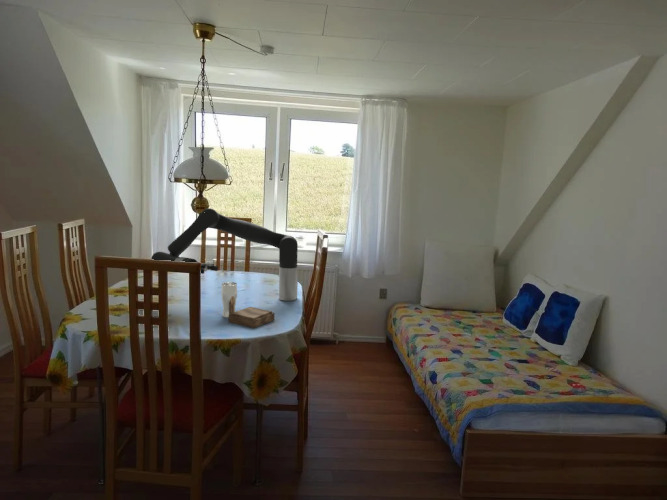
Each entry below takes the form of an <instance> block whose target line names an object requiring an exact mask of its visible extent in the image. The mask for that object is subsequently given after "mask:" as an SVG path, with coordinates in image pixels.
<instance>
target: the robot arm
mask: <svg viewBox="0 0 667 500" xmlns="http://www.w3.org/2000/svg"><path fill="white" fill-rule="evenodd" d="M204 212H205V213H204ZM207 229H215V230H217V231H218V230H219V231H222V232H226V233H228V234H230V235H233V236H235V237H237V238H240V239H242V240H246V241H248V242H252V243H255V244H261V245H266V246H267V245H269V246H271V247H274V248H276V249H279V250H278V251H279V253H278V255H279V256H278V258H279V259H278V260H279V261H278V262H279V263H278V265H279V268H278V270H279V271H278V272H279V273H278V274H279V275H278V277H279V278H278V279H279V280H278V300H279V301H284V302H293V301H296V300H297V298H298V252H299V251H298V241H297V239H296V238H295V237H294V236H292V235H287V234H284V233H279V232H276V231H272V230H270V229H268V228H266V227H263V226H261V225H259V224H256V223H253V222H250V221H245V220H242V219H235V218H231V217H228V216H226V215H222V214H221V213H218V212H217V211H216V210H215V209H213V208H209V207H208V208H205V209H203V210H202V211H201V212H200V213H199V215H198V216H197V218H196V219H195V220H194V221H193V222H192V223H191V224H190V226H189V227H188V228H187V229H185V230H184V231H183V232H182V233H181V234H180V235H179V236H178V237H176V238H175V239H174V240H173V241H172V242H171V243H170V244H168V246H167V250H168V252H169V253H167V252H164V251H157V252H154V253H153V254H151V255H152V256H151V259H154V260H171V261H185V262H198V260H197V259H195V258H190V257H185V256H181V255H182V254H183V253H184V252H185V251H186V250H187V249H188V248H189V247H190V246H191V244H192V243H193V242H194V241H195V240H196V239H197V238H198V237H199V236H200V235H201V234H202V233H203V232H205V231H206V230H207ZM200 263H201V262H200ZM207 271H215V272H217V271H219V267H218V266H217V265H215V264H214V263H209V262H204V263H201V273H200V274H201V275H202V274H203V275H204V274H205V272H207Z"/></svg>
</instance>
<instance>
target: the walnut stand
mask: <svg viewBox="0 0 667 500" xmlns="http://www.w3.org/2000/svg"><path fill="white" fill-rule="evenodd" d="M235 311H236V310H235ZM273 321H275V312H272V310H268V309H263V308H259V307H253V306H248V307H245V308H243V309H239V310H237V311H236V312H233V313H231V314H230V315H229V318H228V323H231V324H235V325H240V326H243V327H246V328H247V327H248V328H252V329H255V328H258V327H261V326H262V325H266V324H268V323H270V322H273Z"/></svg>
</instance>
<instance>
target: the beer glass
mask: <svg viewBox="0 0 667 500" xmlns="http://www.w3.org/2000/svg"><path fill="white" fill-rule="evenodd" d="M220 295H221V300H222V302H221V303H222V307H223V310H222V314H221V315H222V317H223V318H226V319H229V315H230V314H231V313H233V312H236V305H237V298H238V283H237V282H233V281H232V282H231V281H227V282H226V281H225V282H222V283H221V294H220Z"/></svg>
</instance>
